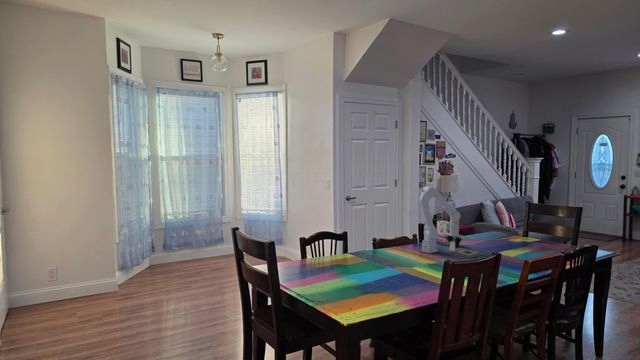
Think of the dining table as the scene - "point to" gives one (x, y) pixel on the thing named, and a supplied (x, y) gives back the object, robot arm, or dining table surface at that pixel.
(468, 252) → the power strip
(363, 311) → the dining table surface
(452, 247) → the charger
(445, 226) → the candy bar box
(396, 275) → the dining table surface
